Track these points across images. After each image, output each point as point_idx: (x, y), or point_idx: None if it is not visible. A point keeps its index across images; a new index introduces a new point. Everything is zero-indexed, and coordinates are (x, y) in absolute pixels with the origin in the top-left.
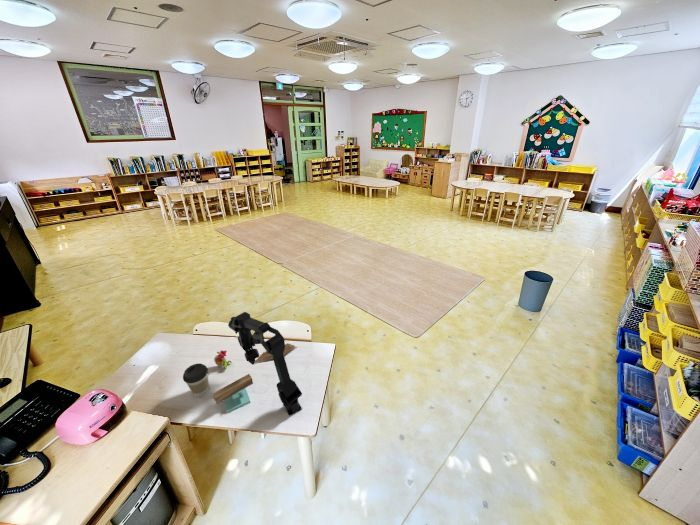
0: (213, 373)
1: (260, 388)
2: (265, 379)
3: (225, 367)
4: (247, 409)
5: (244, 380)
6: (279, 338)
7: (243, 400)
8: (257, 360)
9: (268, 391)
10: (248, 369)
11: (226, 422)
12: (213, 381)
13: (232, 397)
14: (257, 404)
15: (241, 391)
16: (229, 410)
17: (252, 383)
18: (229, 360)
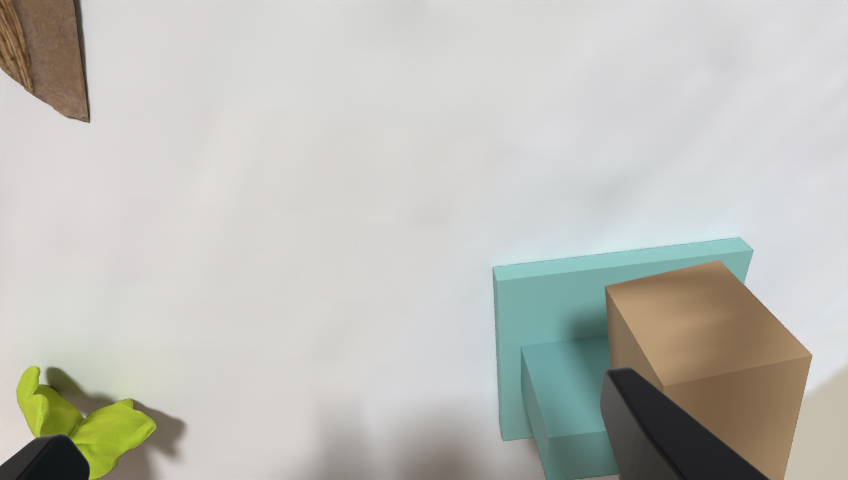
0: (171, 477)
1: (628, 106)
2: (510, 3)
3: (141, 441)
4: (794, 271)
5: (762, 449)
6: None
7: None
8: (23, 51)
9: (758, 8)
10: (205, 201)
11: None
12: (277, 475)
13: None
14: (825, 177)
15: (559, 312)
16: None
17: (723, 273)
18: (36, 434)
